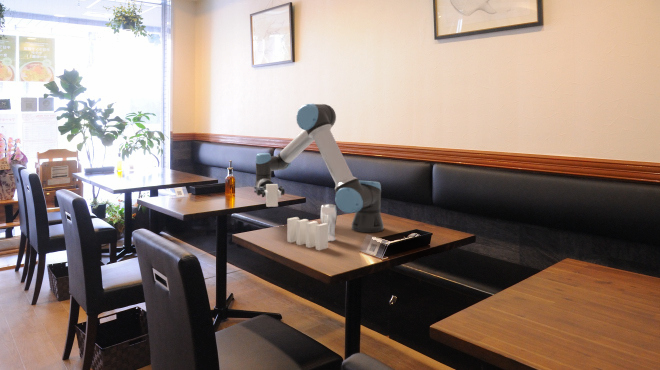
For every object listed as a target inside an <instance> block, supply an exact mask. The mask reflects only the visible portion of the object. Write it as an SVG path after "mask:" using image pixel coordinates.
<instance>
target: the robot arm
mask: <svg viewBox="0 0 660 370" xmlns="http://www.w3.org/2000/svg"><path fill="white" fill-rule="evenodd" d="M336 121H337V114H336V111H335V109H334V108H333V107H332V106H330V105H328V104H323V103H321V104H320V103H317V104H316V103H307V104H303V105H302V106H300V108H299V109H298V110H297V115H296V124H297V126H298V127H299V128H300V129H301V130H302V131H300V133H299V134H297V135H296V136H295V137H294V138H293V139H292V140H291V141H290V142H289V143H287V145H286V146H285V147H284V148H283V149H282V150H281V151H280V152H279V153H278V154H276V155H272V156H271V153H268V152H261V153H257V154H256V155H255V181H254V187H253V192H254V193H255V194H256V195H257V196H258V197H259V196H261V198H265V199H266V198H268V191H267V190H266V184H274V182H272V172H274V171H282V170H283V171H284V170H286V169H288V168H290V167H291V163H292V161H294V160H295V159H296V158H297V157H298V156H299V155H300V154H301V153H302V152H303V151H304V150H306V149H307V148H308V147H309V146H311V144H313V143H315V145H316V146H317V149H318V151H319V153H320V154H321V157H322V159H323V161H324V163H325V164H326V165H325V166H326V167H327V170H328V171H329V173H330V176H331V177H332V180H333V182H334V184H335V187H334V191H335V198H334V201H335V204H336V207H337V208H338V209H339V210H340V211H341V212H343V213H345V214H354V215H353V219H352V223H351V229H352V230H353V231H354V232H358V233H359V232H360V233H379V232H382V231H383V230H384V229H385V228H384V227H385V225H384V222H383V218H382V215H381V203H382V202H381V201H382V200H381V199H382V198H381V197H382V196H381V195H382V185H381V183H380V182H379V181H372V180H370V181H369V180H359V178H358V177H356V176H353V173H352V171H351V169H350V167H349V166H348V163H347V162H346V159H345V157H344V156H343V153H342V151H341V149H340V147H339V145H338V144H337V143H338V142H336V139H335V137H334V135H333V133H332V131H331V129H332V127H333V126H334V125H335V124H336ZM284 195H285V188H284V187H283V186H282V185H280V186H278V199H281V198H282V196H284Z"/></svg>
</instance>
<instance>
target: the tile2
mask: <svg viewBox="0 0 660 370" xmlns="http://www.w3.org/2000/svg"><path fill="white" fill-rule="evenodd" d="M298 220H300V218H299V217H298V216H295V217H290V218H289V217H288V218H287V221H286V222H287V223H286V224H287V227H286V230H287V233H286V236H287V237H286V238H287V239H286V240H287V243H291V244H292V243H295V242H296V221H298Z"/></svg>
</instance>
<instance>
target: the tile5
mask: <svg viewBox="0 0 660 370" xmlns="http://www.w3.org/2000/svg"><path fill="white" fill-rule="evenodd" d="M328 246H329V242H328V224H326V223H323V224H321V223H318V225H316V246H315V250H316V251H317V250H318V251H322V250H326V249H328V248H329V247H328Z"/></svg>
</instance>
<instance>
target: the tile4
mask: <svg viewBox="0 0 660 370" xmlns="http://www.w3.org/2000/svg"><path fill="white" fill-rule="evenodd" d="M318 224H319V222H318V221H316V220H313V221H308V223H306V244H305V247H306V248H313V247H316V225H318Z"/></svg>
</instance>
